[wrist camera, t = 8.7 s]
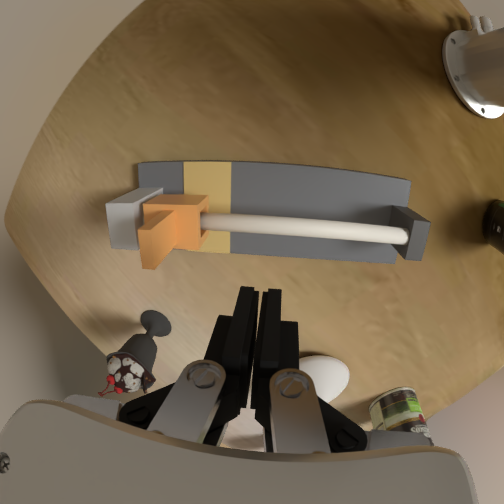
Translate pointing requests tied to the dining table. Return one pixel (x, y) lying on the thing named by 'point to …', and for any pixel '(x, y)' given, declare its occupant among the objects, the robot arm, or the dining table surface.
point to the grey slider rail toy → (282, 210)
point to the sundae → (137, 356)
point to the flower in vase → (326, 375)
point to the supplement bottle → (494, 225)
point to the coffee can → (398, 412)
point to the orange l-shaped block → (171, 226)
